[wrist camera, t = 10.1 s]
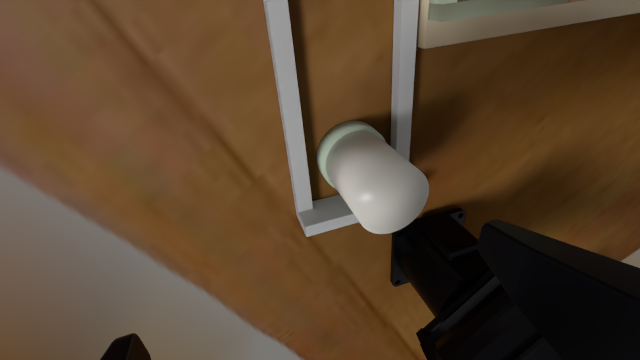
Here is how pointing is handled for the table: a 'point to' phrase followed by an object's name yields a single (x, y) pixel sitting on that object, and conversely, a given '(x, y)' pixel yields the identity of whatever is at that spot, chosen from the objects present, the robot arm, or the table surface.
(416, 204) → the sage-banded sleeve
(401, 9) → the feeder lane
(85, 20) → the table surface
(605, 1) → the board
